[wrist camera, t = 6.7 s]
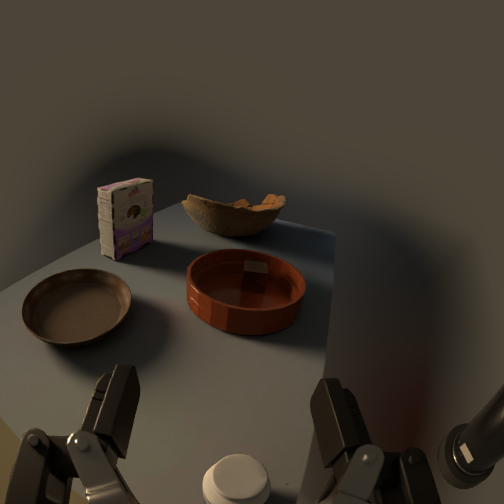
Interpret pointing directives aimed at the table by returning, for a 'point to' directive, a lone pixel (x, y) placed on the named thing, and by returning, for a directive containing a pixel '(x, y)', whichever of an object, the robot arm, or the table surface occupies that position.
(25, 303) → the plant saucer
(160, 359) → the table surface
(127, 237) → the candy box
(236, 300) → the bowl
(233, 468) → the pill bottle
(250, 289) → the block
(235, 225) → the ceramic bowl
